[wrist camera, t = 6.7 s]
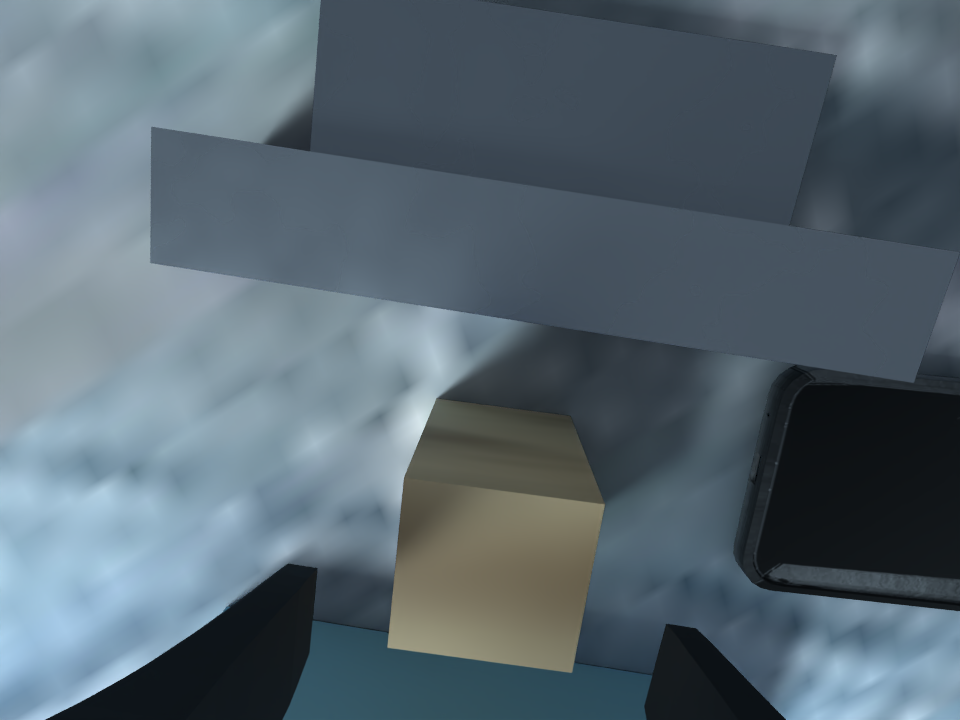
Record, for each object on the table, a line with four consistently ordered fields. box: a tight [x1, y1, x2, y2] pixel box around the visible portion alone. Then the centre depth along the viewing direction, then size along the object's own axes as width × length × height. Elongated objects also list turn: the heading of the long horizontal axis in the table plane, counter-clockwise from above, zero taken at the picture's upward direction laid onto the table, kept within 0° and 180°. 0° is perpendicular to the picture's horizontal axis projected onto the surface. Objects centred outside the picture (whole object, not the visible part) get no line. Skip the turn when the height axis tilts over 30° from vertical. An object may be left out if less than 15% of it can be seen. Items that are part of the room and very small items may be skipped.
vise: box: [150, 0, 960, 383], centre depth 14 cm, size 7×18×4 cm, turn 81°
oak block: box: [387, 399, 605, 673], centre depth 15 cm, size 4×4×6 cm
